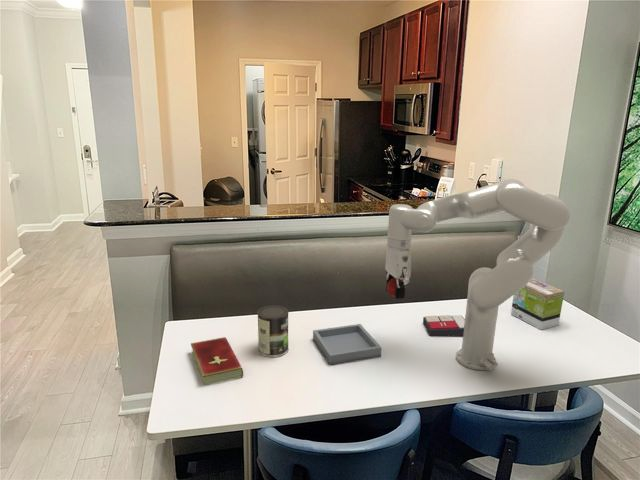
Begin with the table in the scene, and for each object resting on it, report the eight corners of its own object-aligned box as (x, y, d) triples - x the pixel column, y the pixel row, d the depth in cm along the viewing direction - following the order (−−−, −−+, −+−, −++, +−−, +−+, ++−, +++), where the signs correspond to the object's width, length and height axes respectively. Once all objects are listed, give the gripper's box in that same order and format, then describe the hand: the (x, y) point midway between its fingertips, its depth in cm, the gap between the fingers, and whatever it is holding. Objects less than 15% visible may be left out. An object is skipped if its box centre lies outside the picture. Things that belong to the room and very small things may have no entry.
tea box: (509, 314, 188) (514, 280, 183) (527, 310, 192) (532, 277, 188) (540, 330, 174) (546, 294, 170) (559, 326, 179) (565, 290, 174)
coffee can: (292, 344, 162) (292, 306, 158) (283, 359, 152) (283, 319, 148) (263, 340, 164) (263, 303, 160) (253, 355, 154) (252, 316, 150)
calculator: (423, 315, 178) (462, 313, 178) (422, 325, 180) (461, 323, 180) (430, 328, 168) (471, 326, 168) (429, 339, 169) (471, 337, 169)
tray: (381, 356, 154) (381, 347, 153) (329, 365, 149) (330, 355, 148) (359, 332, 171) (360, 323, 170) (312, 339, 165) (313, 330, 164)
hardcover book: (227, 347, 160) (226, 335, 159) (243, 378, 142) (243, 366, 141) (191, 353, 155) (190, 342, 154) (203, 387, 137) (202, 375, 136)
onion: (398, 302, 152) (400, 279, 150) (383, 298, 156) (384, 275, 153) (406, 297, 157) (408, 275, 154) (391, 293, 160) (393, 271, 158)
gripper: (422, 249, 144) (417, 303, 149) (397, 235, 160) (393, 284, 165) (400, 251, 142) (396, 305, 147) (377, 236, 158) (374, 286, 163)
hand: (395, 293), depth 156 cm, fingers closed on onion, 5 cm apart
